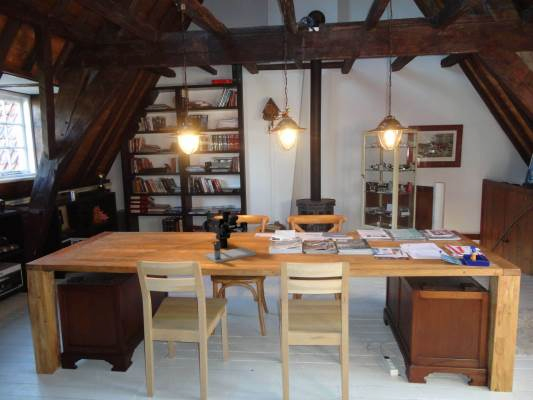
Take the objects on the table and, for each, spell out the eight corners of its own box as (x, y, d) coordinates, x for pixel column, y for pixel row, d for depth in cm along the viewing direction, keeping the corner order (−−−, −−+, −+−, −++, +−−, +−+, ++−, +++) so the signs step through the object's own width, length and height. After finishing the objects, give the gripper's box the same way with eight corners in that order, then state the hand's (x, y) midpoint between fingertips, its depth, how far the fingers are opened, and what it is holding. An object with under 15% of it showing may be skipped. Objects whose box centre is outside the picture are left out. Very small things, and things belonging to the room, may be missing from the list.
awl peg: (213, 258, 237) (212, 242, 236) (219, 257, 239) (218, 241, 238) (216, 260, 234) (215, 244, 232) (222, 259, 236) (221, 243, 235)
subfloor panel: (204, 256, 247) (204, 254, 247) (244, 249, 263) (244, 247, 262) (215, 262, 234) (215, 260, 234) (256, 254, 249) (256, 252, 249)
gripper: (215, 216, 253) (226, 219, 240) (240, 212, 263) (252, 216, 250) (216, 232, 255) (227, 237, 242) (241, 228, 265) (253, 232, 252)
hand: (240, 230), depth 246 cm, fingers open, 9 cm apart
